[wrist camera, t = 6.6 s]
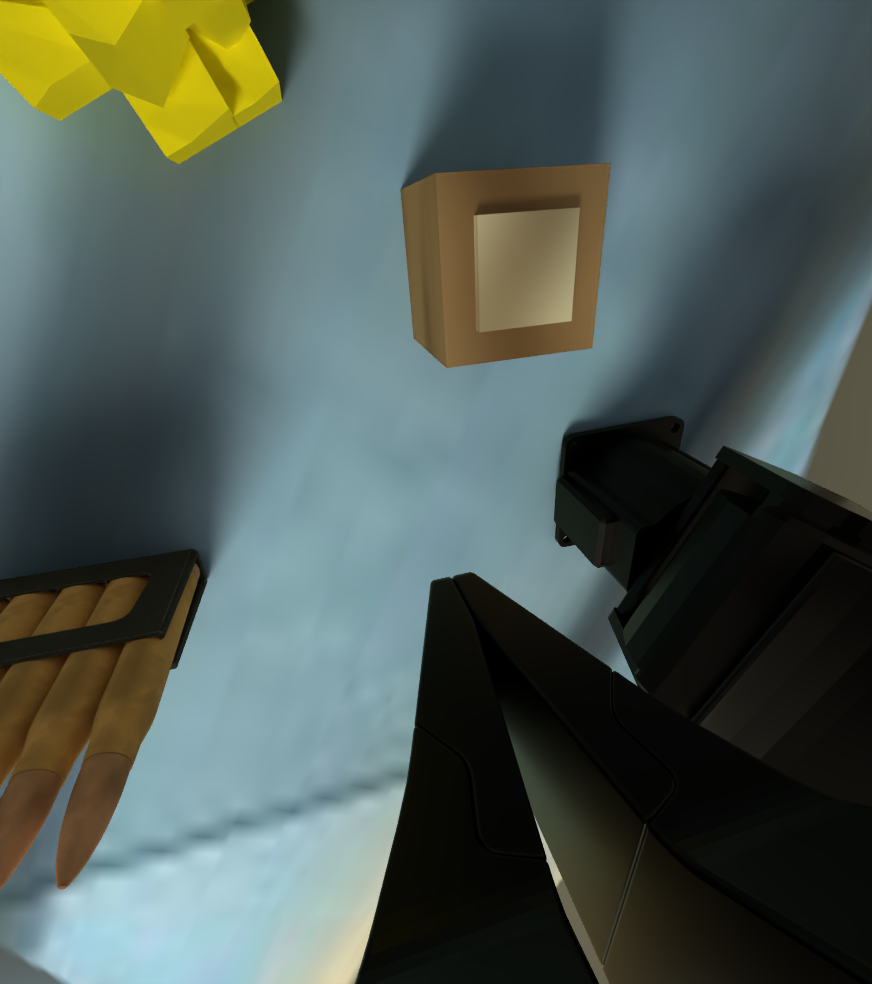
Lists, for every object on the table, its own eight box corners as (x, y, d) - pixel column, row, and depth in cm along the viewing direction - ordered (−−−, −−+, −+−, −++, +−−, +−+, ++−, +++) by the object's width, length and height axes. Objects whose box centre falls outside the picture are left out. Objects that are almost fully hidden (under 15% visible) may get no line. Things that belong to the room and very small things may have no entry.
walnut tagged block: (533, 181, 17) (617, 160, 12) (529, 323, 19) (597, 349, 15) (400, 190, 16) (438, 171, 12) (413, 338, 18) (449, 370, 14)
